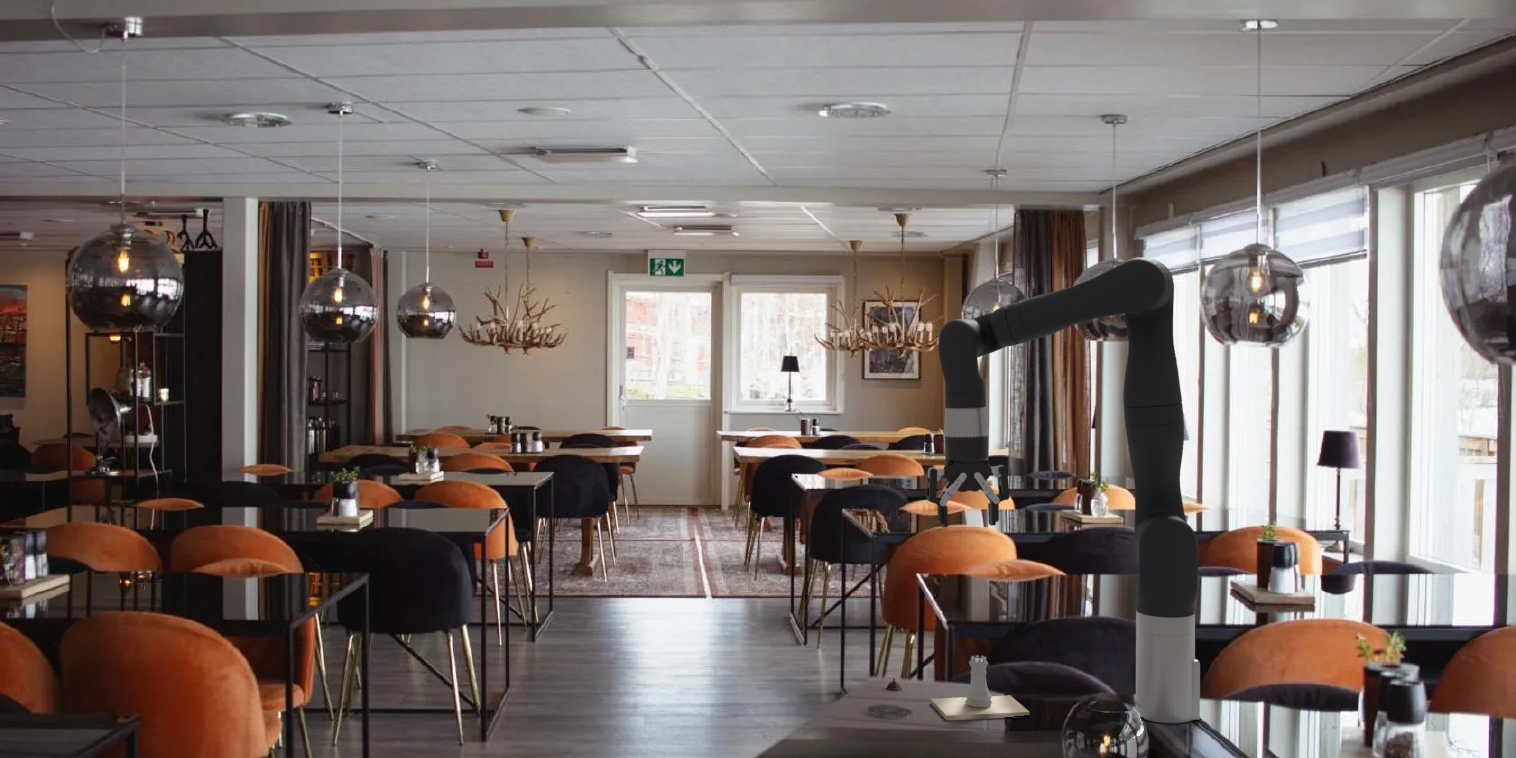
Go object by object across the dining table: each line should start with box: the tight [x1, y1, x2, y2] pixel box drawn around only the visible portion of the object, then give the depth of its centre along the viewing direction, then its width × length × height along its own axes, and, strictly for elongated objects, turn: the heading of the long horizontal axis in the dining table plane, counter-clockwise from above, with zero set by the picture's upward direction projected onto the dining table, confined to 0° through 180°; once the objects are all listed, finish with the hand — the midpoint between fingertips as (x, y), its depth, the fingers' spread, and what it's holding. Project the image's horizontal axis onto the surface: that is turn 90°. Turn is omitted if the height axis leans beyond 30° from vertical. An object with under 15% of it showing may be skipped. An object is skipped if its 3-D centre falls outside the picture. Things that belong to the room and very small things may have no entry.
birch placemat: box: [930, 695, 1030, 721], centre depth 217 cm, size 14×10×1 cm
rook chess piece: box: [965, 655, 992, 708], centre depth 217 cm, size 4×4×8 cm
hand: (968, 525), depth 227 cm, fingers open, 8 cm apart
